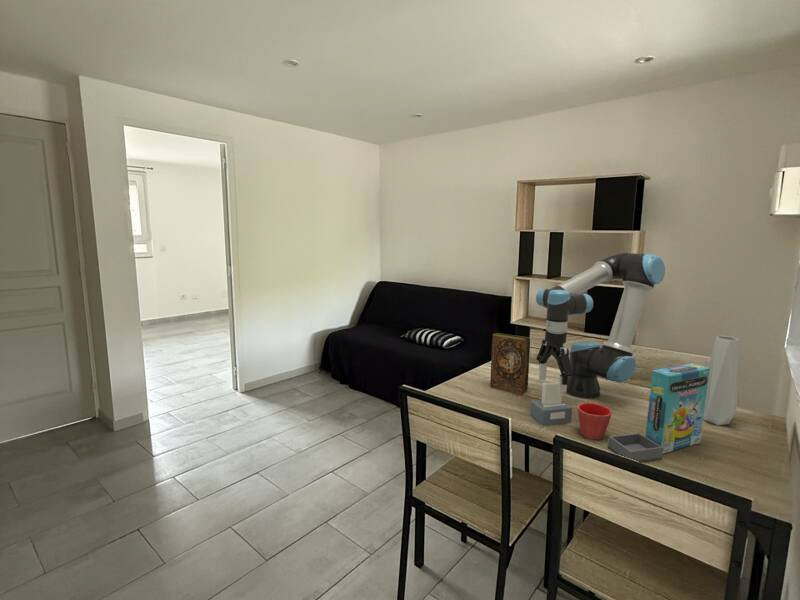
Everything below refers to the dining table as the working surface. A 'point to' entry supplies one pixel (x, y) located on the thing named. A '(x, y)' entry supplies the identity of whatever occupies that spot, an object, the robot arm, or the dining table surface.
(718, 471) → the dining table surface
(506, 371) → the book
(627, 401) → the dining table surface
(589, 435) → the flower pot
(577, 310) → the robot arm
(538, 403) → the dispenser
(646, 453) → the bin
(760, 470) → the dining table surface
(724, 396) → the vase
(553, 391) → the white rectangular block
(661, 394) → the game box
